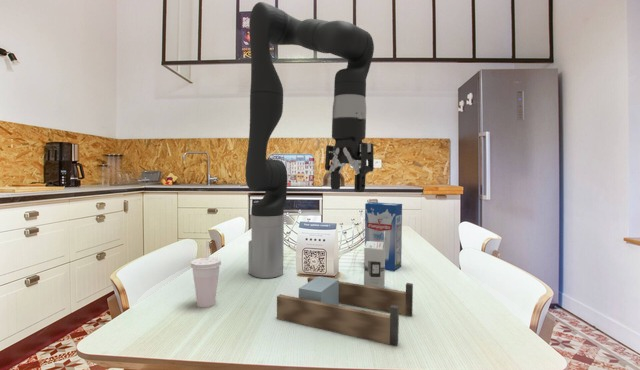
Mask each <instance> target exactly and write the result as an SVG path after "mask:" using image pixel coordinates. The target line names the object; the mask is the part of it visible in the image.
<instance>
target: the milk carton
mask: <svg viewBox="0 0 640 370" xmlns="http://www.w3.org/2000/svg"><path fill="white" fill-rule="evenodd" d="M364 204H365V206H364V207H365V212H364V245H365V244H366V241H374V242H384V231H385V271H390V272H397V270H399V269H400V268H402V247H403V246H402V242H403V241H402V240H403V239H402V238H403V237H402V235H403V232H402V231H403V203H390V202H388V203H387V202H376V201H375V202H374V201H373V202H366V203H364Z"/></svg>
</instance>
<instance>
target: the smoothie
mask: <svg viewBox="0 0 640 370" xmlns="http://www.w3.org/2000/svg"><path fill="white" fill-rule="evenodd" d="M205 243H206V244H205V245H206V247H205V248H206V251H205V252H206V253H205V254H206V256H205V257H201V258H200V257H199V258H195V259H193V260H191V261H190V268H191V269H192V275H193V282H194V289H195V297H196V298H195V299H196V305H197V307H198V308H210V307H213V306H214V305H215V304H216V297H217V290H218V281H219V273H220V266H221V265H222V260H221V259H220V258H218V257H211V256H210V240H206V241H205Z"/></svg>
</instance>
